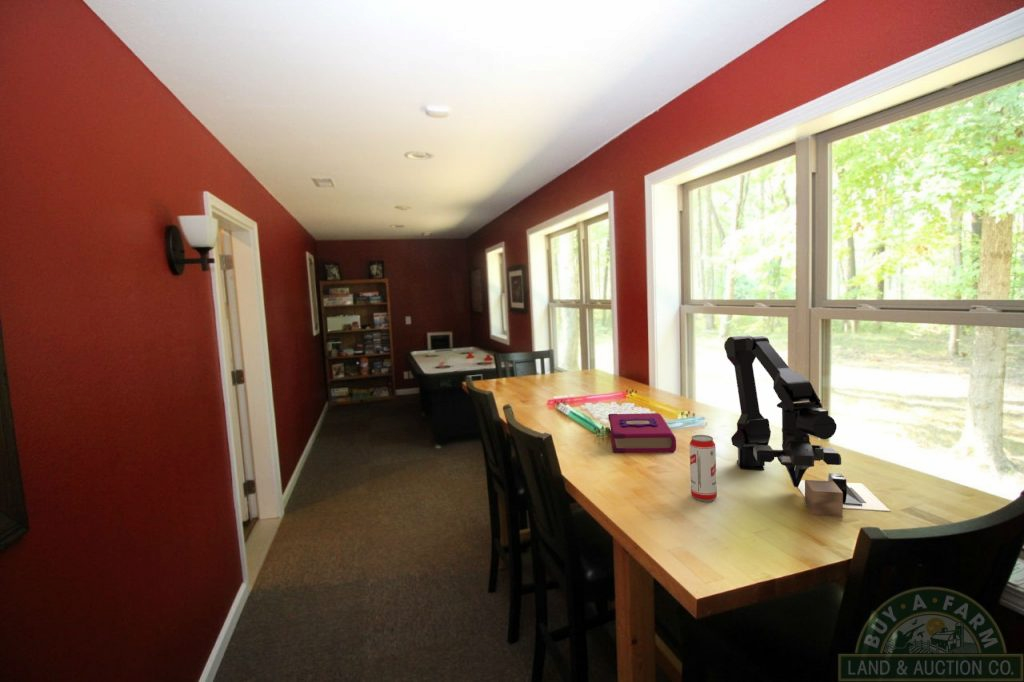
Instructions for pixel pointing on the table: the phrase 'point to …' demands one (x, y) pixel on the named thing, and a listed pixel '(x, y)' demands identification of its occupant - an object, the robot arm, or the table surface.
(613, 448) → the book
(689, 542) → the table surface
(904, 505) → the table surface
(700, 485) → the beer can
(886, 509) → the letter tile
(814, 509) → the cube
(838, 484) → the black stand
